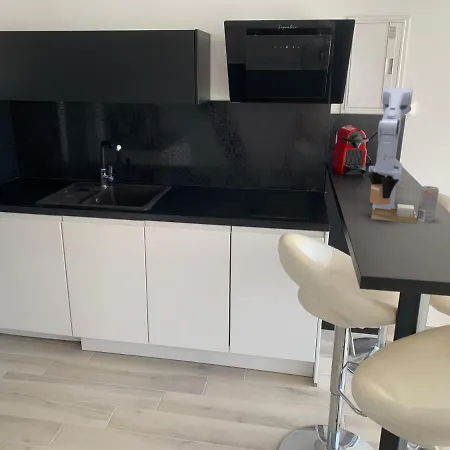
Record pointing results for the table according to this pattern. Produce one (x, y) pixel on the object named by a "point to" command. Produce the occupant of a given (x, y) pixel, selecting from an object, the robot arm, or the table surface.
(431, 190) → the energy drink
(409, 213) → the white foam cube
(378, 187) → the brown cardboard box
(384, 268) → the table surface
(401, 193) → the table surface
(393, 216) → the light wooden tray
